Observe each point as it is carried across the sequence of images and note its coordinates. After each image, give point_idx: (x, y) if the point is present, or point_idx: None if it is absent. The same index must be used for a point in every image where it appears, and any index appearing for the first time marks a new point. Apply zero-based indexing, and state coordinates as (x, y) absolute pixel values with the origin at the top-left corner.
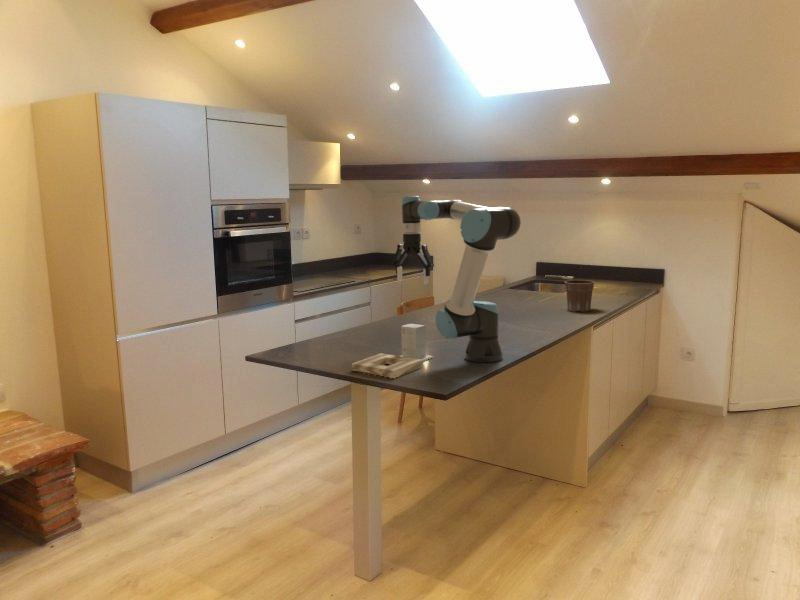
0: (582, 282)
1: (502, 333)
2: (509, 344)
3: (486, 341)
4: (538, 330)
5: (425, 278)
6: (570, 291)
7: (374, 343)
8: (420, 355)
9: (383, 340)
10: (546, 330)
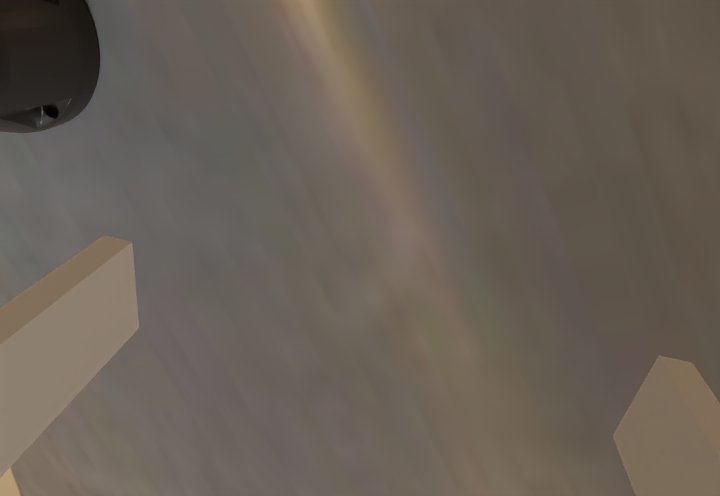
0: None
1: (185, 440)
2: None
3: None
4: (102, 488)
5: (34, 299)
6: None
7: (710, 154)
8: None
9: (668, 234)
10: (81, 490)
